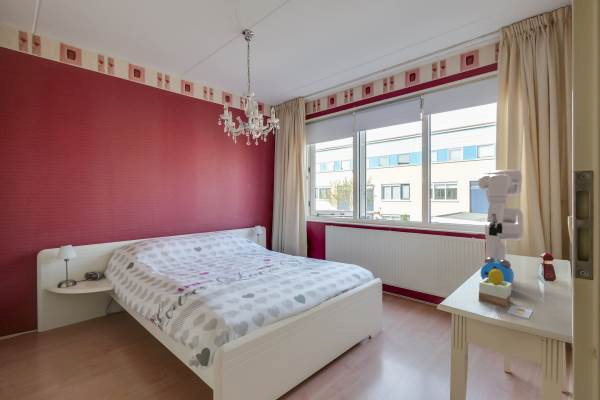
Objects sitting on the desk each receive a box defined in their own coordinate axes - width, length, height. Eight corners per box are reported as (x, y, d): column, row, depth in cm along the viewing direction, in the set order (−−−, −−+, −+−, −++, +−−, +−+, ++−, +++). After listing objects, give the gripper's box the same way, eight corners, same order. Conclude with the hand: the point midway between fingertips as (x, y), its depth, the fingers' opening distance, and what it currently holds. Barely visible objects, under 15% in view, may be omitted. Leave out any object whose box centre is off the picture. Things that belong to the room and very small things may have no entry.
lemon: (504, 288, 123) (505, 271, 122) (489, 287, 125) (490, 269, 124) (501, 284, 128) (501, 267, 127) (486, 283, 130) (487, 266, 129)
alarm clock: (513, 289, 140) (514, 260, 140) (509, 292, 137) (511, 262, 136) (484, 282, 151) (485, 255, 150) (479, 284, 147) (480, 256, 146)
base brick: (484, 294, 134) (485, 286, 133) (510, 301, 126) (511, 292, 126) (478, 300, 127) (478, 292, 127) (505, 308, 119) (505, 298, 119)
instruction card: (512, 305, 122) (512, 305, 122) (532, 311, 117) (532, 310, 117) (506, 312, 115) (506, 312, 115) (528, 318, 110) (528, 318, 110)
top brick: (485, 286, 133) (485, 277, 133) (511, 292, 126) (511, 283, 126) (478, 292, 127) (479, 282, 126) (505, 298, 119) (506, 288, 119)
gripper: (492, 198, 145) (491, 231, 146) (483, 200, 134) (481, 235, 135) (510, 199, 140) (508, 233, 141) (502, 201, 128) (500, 237, 129)
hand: (495, 234), depth 138 cm, fingers open, 9 cm apart
